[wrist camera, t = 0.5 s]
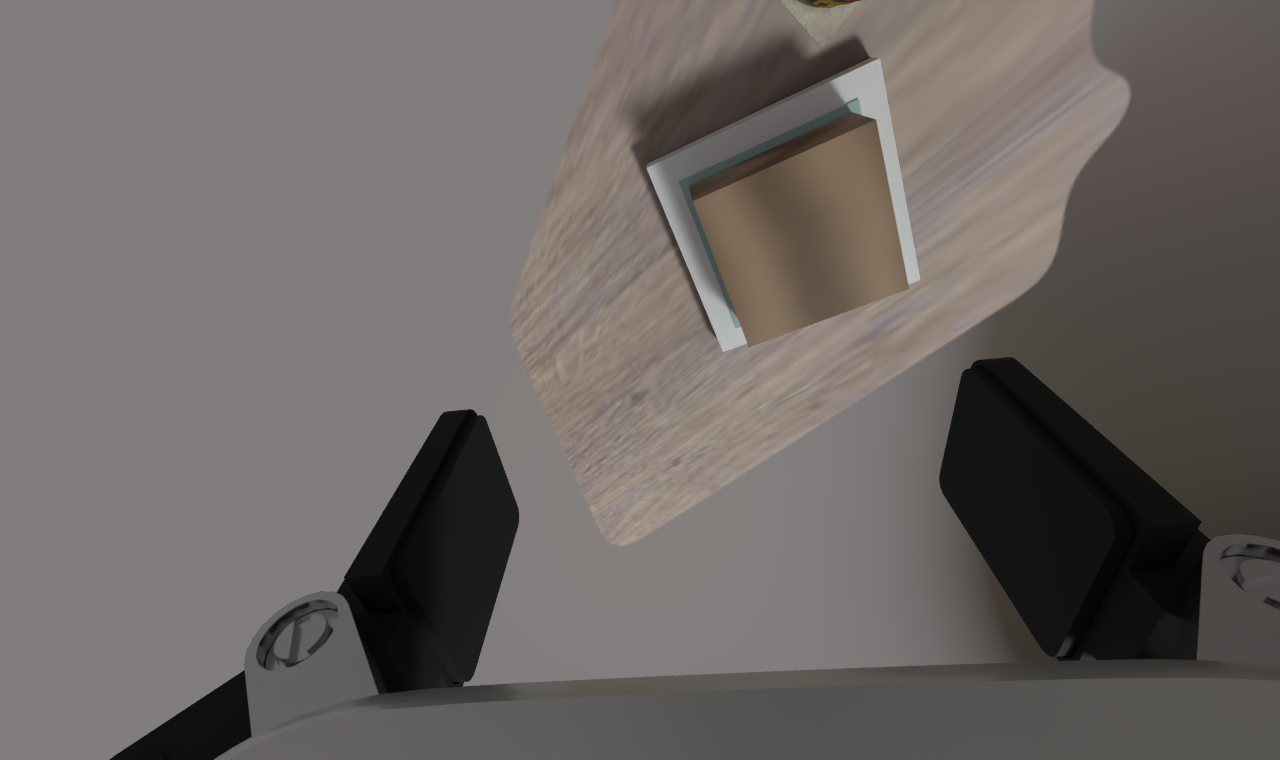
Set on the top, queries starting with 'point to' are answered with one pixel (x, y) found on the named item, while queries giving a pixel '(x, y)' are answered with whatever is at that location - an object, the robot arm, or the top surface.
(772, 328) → the base block
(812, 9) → the condiment
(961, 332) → the top surface
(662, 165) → the build board
